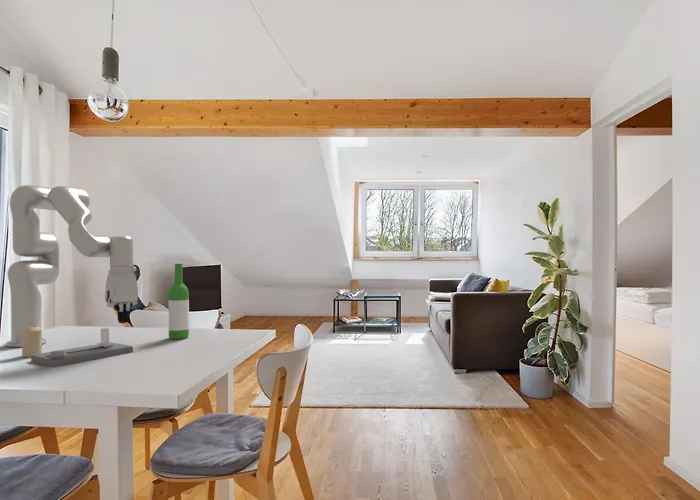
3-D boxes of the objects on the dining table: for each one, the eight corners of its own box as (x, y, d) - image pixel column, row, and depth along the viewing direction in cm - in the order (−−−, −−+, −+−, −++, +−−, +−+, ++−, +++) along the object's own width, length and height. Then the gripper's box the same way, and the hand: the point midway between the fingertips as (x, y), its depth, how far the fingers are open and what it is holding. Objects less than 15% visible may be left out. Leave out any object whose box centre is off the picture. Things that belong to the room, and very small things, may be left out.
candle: (32, 357, 157) (32, 327, 157) (18, 357, 158) (18, 327, 158) (45, 354, 162) (45, 324, 162) (32, 353, 163) (32, 324, 163)
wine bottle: (177, 340, 187) (177, 264, 188) (164, 338, 191) (164, 263, 192) (193, 337, 194) (192, 263, 194) (180, 335, 198) (180, 263, 198)
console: (31, 361, 152) (31, 348, 152) (110, 347, 173) (110, 336, 173) (52, 367, 144) (52, 353, 144) (132, 352, 166) (132, 340, 166)
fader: (97, 345, 165) (97, 328, 165) (105, 344, 167) (105, 327, 167) (104, 346, 162) (104, 329, 162) (112, 345, 165) (112, 328, 165)
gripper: (135, 270, 178) (136, 319, 178) (95, 271, 165) (96, 324, 165) (147, 270, 174) (148, 320, 174) (107, 271, 161) (108, 326, 161)
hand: (122, 322), depth 169 cm, fingers closed
